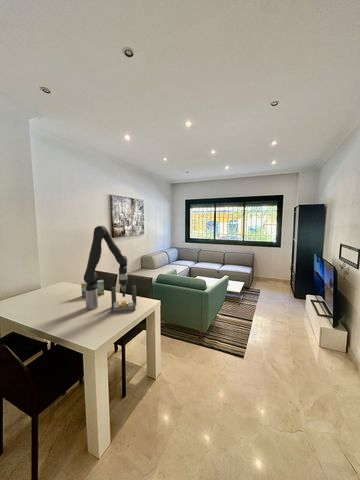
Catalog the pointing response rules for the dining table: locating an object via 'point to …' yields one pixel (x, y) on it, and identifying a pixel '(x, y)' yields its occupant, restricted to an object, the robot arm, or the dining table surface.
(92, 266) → the robot arm
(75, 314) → the dining table surface
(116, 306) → the paddle
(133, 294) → the post
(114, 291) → the post
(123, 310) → the breaker strip
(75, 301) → the dining table surface
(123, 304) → the paddle
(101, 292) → the snack box
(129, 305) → the paddle
